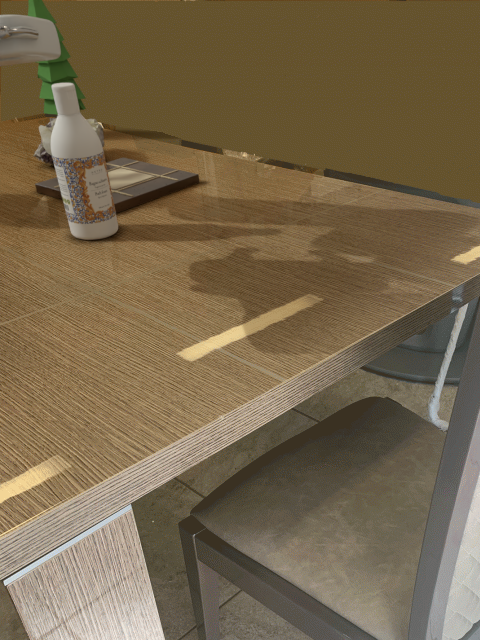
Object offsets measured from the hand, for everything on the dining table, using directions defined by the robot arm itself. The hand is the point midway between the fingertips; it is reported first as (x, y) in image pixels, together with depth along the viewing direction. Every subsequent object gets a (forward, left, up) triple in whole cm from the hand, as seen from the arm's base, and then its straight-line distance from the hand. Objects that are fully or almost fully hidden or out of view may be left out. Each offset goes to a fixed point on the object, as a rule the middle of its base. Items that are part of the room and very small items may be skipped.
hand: (3, 54), depth 77 cm
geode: (-36, +31, -25) cm, 53 cm away
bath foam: (-1, +8, -25) cm, 26 cm away
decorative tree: (-54, +45, -25) cm, 74 cm away
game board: (-15, +25, -24) cm, 38 cm away
